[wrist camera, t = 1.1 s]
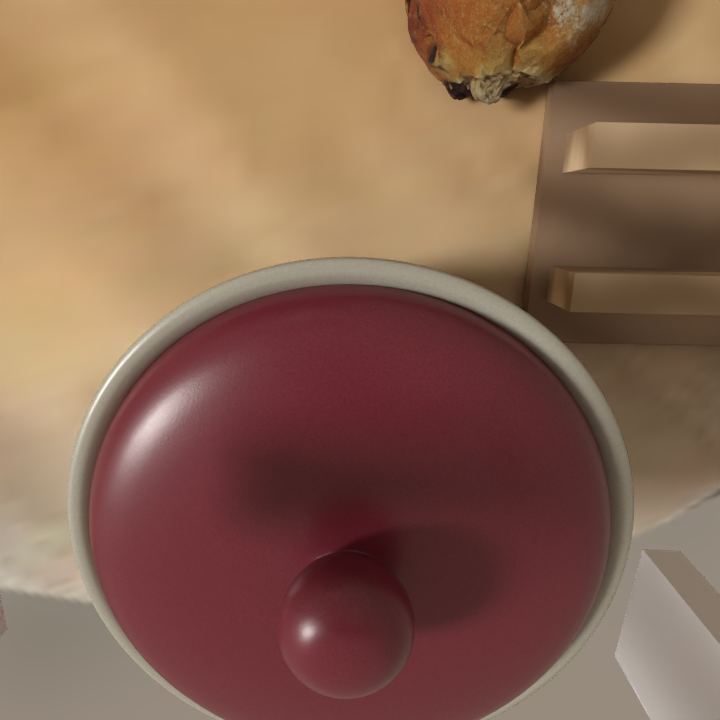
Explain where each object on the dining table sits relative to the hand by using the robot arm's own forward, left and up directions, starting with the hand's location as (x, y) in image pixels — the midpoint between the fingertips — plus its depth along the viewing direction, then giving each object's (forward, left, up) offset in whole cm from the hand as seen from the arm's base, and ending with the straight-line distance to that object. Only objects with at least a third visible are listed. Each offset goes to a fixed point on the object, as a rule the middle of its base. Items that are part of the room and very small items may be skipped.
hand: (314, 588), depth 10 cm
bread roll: (-18, +8, -22) cm, 29 cm away
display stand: (-7, +18, -22) cm, 29 cm away
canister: (+3, +1, -22) cm, 22 cm away
